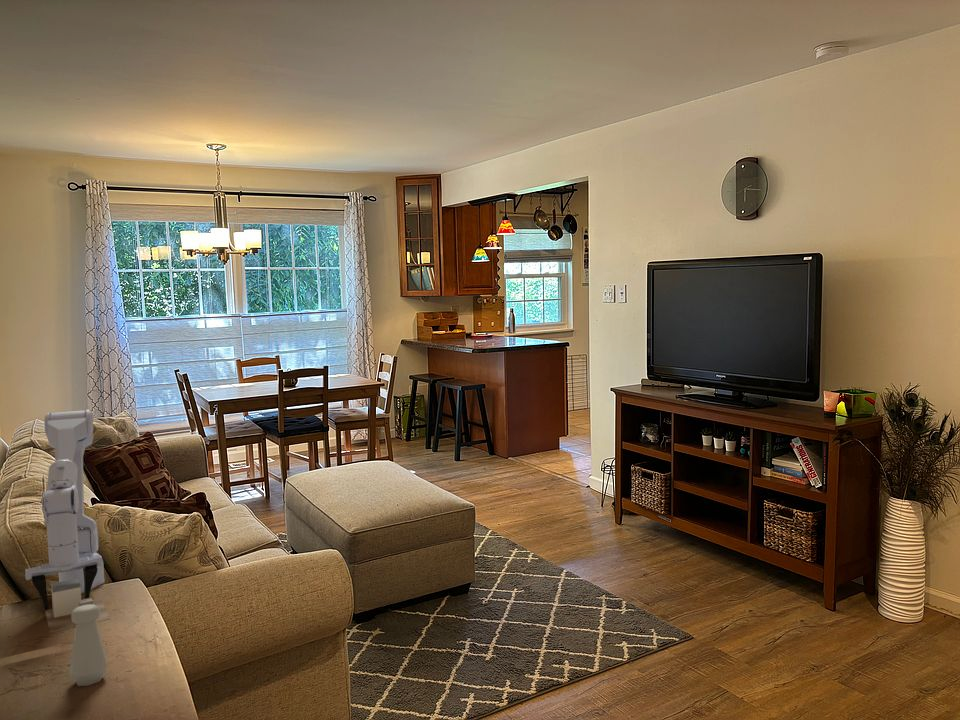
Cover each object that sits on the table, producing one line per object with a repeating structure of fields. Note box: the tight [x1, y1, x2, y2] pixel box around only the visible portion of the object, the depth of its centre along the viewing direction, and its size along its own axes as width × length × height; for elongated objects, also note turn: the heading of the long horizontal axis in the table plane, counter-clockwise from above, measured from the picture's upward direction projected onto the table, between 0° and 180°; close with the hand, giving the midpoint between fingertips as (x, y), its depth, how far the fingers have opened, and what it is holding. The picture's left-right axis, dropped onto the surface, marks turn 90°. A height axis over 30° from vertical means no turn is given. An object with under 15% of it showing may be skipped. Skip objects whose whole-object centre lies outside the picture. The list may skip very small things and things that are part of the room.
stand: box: [44, 597, 111, 634], centre depth 156 cm, size 16×11×5 cm
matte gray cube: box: [50, 579, 82, 618], centre depth 158 cm, size 5×5×6 cm
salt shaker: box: [68, 604, 108, 687], centre depth 126 cm, size 6×6×13 cm
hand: (66, 604), depth 158 cm, fingers open, 7 cm apart
